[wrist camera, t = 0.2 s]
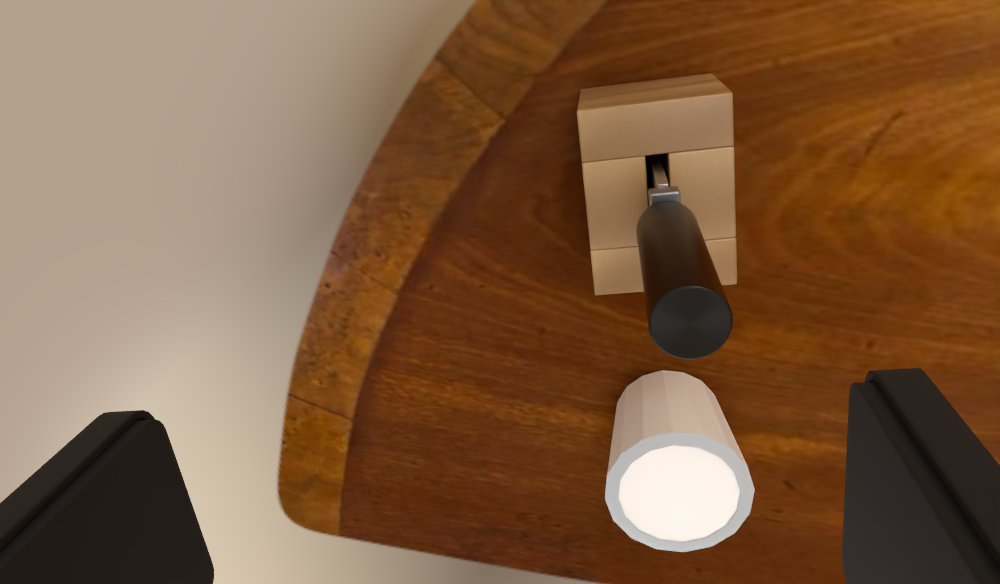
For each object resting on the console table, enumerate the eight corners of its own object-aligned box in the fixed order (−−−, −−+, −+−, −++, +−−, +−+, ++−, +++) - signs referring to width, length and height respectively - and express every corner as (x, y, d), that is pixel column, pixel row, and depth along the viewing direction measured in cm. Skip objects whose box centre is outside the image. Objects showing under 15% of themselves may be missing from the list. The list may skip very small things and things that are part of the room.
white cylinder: (706, 480, 43) (725, 569, 37) (589, 449, 43) (587, 532, 37) (750, 378, 40) (778, 456, 34) (624, 345, 40) (628, 416, 34)
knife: (625, 137, 36) (645, 275, 20) (672, 132, 36) (731, 268, 19) (629, 198, 37) (652, 375, 21) (675, 193, 37) (734, 370, 21)
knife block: (580, 88, 35) (576, 110, 30) (712, 72, 34) (733, 92, 29) (595, 249, 38) (594, 295, 33) (717, 238, 37) (737, 284, 32)
